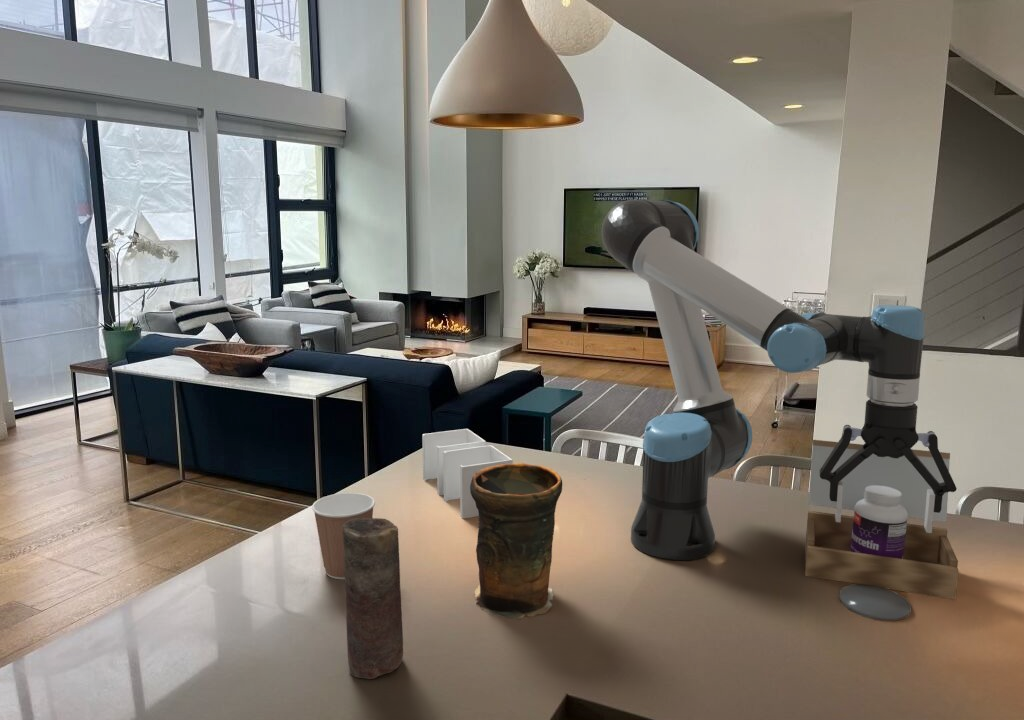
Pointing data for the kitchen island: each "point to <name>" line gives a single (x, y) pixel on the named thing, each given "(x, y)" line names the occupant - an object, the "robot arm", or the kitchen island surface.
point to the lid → (877, 479)
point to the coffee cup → (338, 526)
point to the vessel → (515, 537)
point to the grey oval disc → (875, 602)
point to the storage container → (458, 464)
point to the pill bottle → (879, 523)
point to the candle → (372, 596)
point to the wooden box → (881, 558)
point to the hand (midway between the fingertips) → (881, 524)
